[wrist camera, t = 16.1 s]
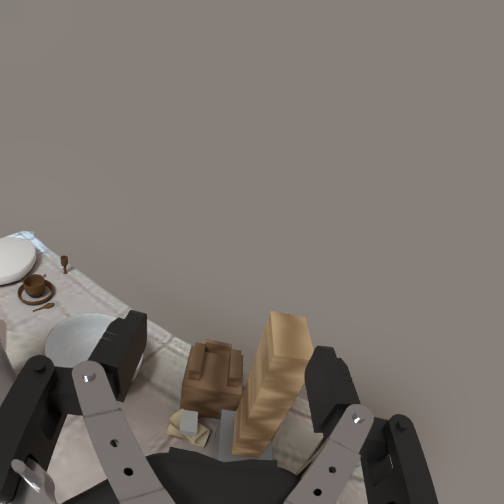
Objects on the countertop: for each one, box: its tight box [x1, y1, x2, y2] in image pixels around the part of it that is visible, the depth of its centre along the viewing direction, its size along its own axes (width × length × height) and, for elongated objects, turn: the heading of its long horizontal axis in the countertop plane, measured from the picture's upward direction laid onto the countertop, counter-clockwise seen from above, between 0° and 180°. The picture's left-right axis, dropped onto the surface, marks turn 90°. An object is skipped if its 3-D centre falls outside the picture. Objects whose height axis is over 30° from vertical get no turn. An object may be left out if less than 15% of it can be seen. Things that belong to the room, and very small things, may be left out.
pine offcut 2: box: [166, 424, 210, 448], centre depth 41 cm, size 7×4×2 cm, turn 79°
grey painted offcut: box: [180, 410, 198, 436], centre depth 39 cm, size 4×3×2 cm, turn 5°
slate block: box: [213, 409, 273, 462], centre depth 37 cm, size 8×10×8 cm
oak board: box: [232, 311, 314, 458], centre depth 31 cm, size 4×7×22 cm, turn 0°
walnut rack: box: [180, 340, 243, 419], centre depth 48 cm, size 10×10×12 cm
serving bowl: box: [45, 313, 144, 381], centre depth 47 cm, size 21×21×7 cm
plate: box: [0, 237, 36, 285], centre depth 63 cm, size 28×6×27 cm
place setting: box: [18, 256, 68, 312], centre depth 63 cm, size 18×20×6 cm
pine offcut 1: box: [169, 408, 208, 444], centre depth 40 cm, size 6×3×2 cm, turn 55°
